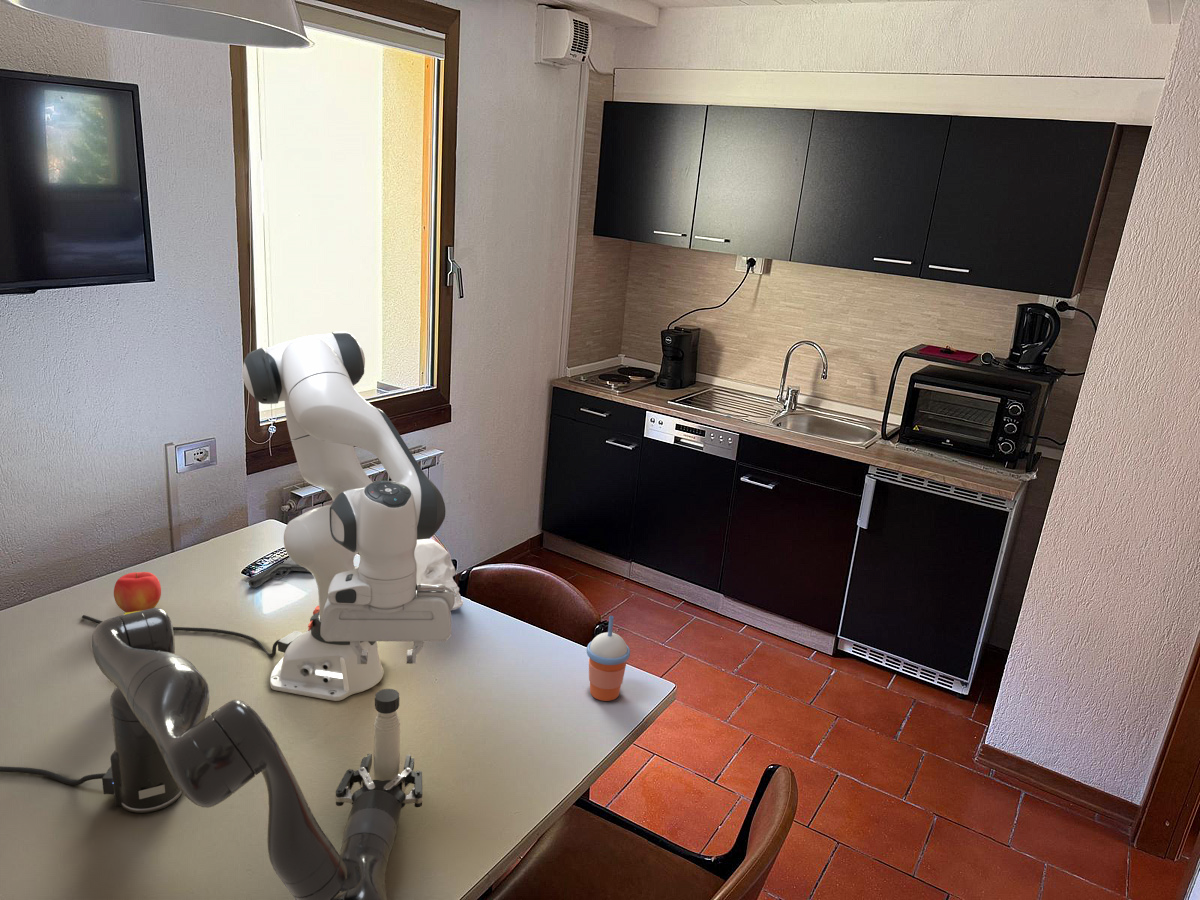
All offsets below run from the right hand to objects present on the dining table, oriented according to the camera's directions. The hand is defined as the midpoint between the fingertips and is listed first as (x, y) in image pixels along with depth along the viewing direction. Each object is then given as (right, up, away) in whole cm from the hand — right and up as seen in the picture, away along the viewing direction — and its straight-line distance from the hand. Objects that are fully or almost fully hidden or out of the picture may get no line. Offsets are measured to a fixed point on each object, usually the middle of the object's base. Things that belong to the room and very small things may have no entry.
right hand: (387, 662), depth 138 cm
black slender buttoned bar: (-46, +2, +83) cm, 95 cm away
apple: (-72, -4, +59) cm, 93 cm away
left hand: (-2, -19, +8) cm, 20 cm away
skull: (-9, -4, +76) cm, 76 cm away
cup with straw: (+35, -17, +43) cm, 58 cm away
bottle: (-2, -25, +8) cm, 26 cm away
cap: (-1, -6, +2) cm, 6 cm away
